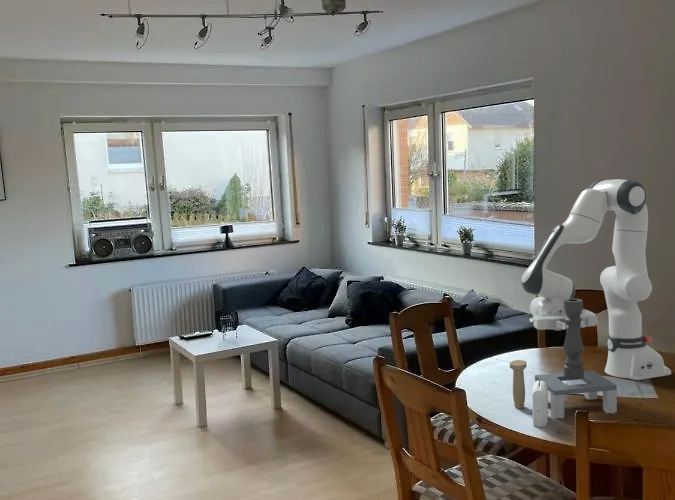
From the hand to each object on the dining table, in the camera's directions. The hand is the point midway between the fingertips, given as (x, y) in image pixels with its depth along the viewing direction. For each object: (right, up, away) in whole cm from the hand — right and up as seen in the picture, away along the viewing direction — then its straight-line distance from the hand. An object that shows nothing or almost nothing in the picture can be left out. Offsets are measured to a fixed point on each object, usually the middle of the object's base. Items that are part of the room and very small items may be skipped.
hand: (574, 326), depth 212 cm
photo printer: (-13, -29, -6) cm, 32 cm away
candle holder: (+1, -17, +3) cm, 17 cm away
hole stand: (+2, -27, +4) cm, 27 cm away
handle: (-16, -27, +7) cm, 32 cm away
